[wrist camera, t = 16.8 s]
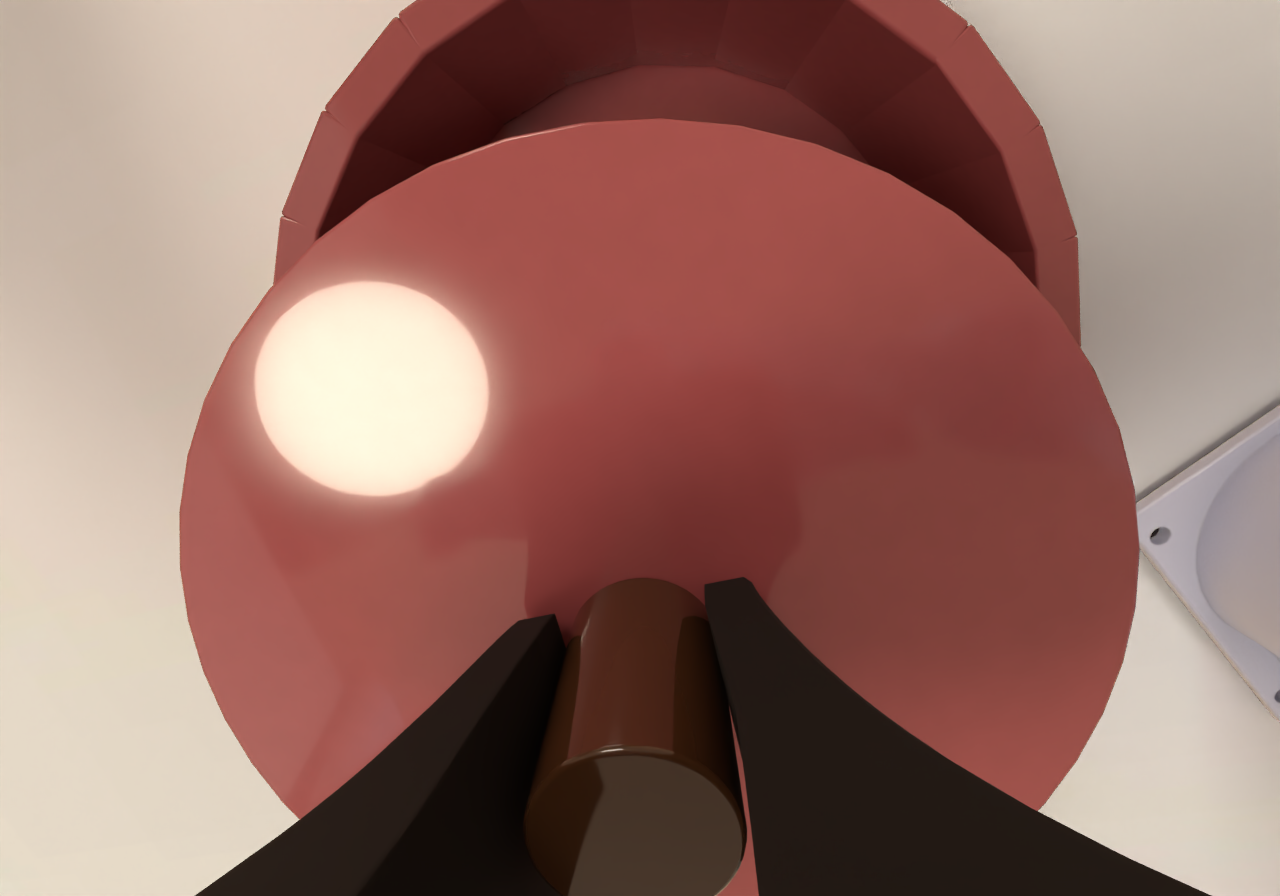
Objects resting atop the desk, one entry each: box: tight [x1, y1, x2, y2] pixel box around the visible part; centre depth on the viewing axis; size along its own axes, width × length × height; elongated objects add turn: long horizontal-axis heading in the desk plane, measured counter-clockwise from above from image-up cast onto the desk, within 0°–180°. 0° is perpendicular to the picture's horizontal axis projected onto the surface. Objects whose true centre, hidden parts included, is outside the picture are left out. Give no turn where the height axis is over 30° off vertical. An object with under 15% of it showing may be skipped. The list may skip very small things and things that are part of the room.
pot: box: [273, 0, 1081, 347], centre depth 13 cm, size 14×14×5 cm
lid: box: [180, 118, 1140, 896], centre depth 8 cm, size 15×15×5 cm
